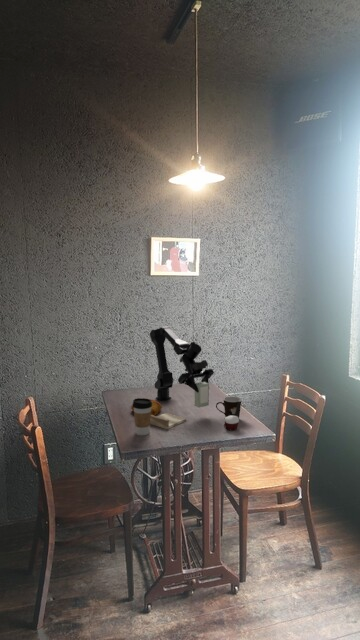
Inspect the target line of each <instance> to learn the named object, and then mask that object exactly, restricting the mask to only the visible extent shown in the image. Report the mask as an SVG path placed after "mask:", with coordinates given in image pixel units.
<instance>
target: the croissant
mask: <svg viewBox="0 0 360 640" xmlns="http://www.w3.org/2000/svg"><path fill="white" fill-rule="evenodd" d="M143 398H144V399H147V398H145V397H143ZM149 399H150V400H151V402H152V407H151V415H154V416H158V414H160V413H161V412H162V408H163V406H162V404H161V403H160V402H159V401H157V400H155V399H151V398H149ZM130 409H131V410H132V412H134V407H133V403H132V405H131V407H130Z"/></svg>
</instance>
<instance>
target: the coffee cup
mask: <svg viewBox="0 0 360 640" xmlns="http://www.w3.org/2000/svg"><path fill="white" fill-rule="evenodd" d="M144 398H145V397H143V398H140V397H138V398H134V399H133V401H132V404H133V407H134V411H133V416H134V418H133V419H134V424H135V434H136V435H138V436H147V435H150V432H151V429H150V428H151V424H150V420H151V407H152V402H151V400H152V399H151V398H146V399H144ZM150 399H151V400H150Z"/></svg>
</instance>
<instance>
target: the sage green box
mask: <svg viewBox="0 0 360 640" xmlns="http://www.w3.org/2000/svg"><path fill="white" fill-rule="evenodd" d="M195 383H196V382H195ZM196 386H197V388H198V390H199V392H198V393H197V392H196V391H195V390H194V406H195V407H197V408H204V407H207V406H209V404H210V383H206V382H201V381H200V382H197V383H196Z"/></svg>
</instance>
